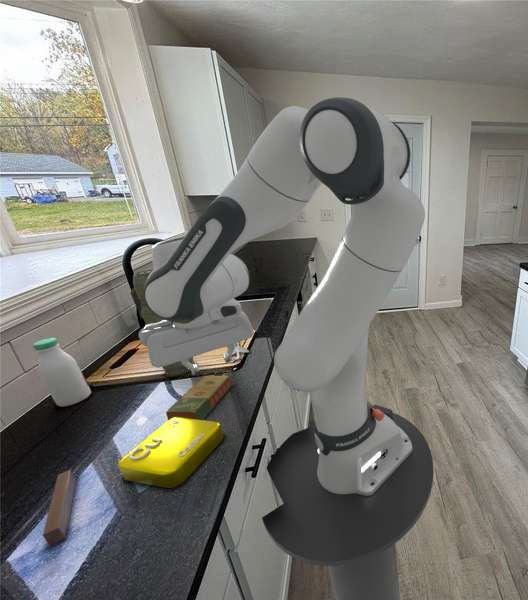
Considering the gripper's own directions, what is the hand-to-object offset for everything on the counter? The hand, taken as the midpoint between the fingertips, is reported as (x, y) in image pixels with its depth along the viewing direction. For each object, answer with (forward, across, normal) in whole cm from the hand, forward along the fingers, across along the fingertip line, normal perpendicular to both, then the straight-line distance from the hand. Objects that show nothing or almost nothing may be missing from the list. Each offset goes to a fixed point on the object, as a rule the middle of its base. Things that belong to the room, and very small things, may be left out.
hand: (212, 366), depth 73 cm
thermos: (+19, -7, +44) cm, 49 cm away
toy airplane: (+19, +11, +41) cm, 47 cm away
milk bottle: (+19, -34, +48) cm, 62 cm away
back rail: (+19, -31, 0) cm, 36 cm away
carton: (+19, -4, +17) cm, 26 cm away
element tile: (+19, -12, 0) cm, 23 cm away
